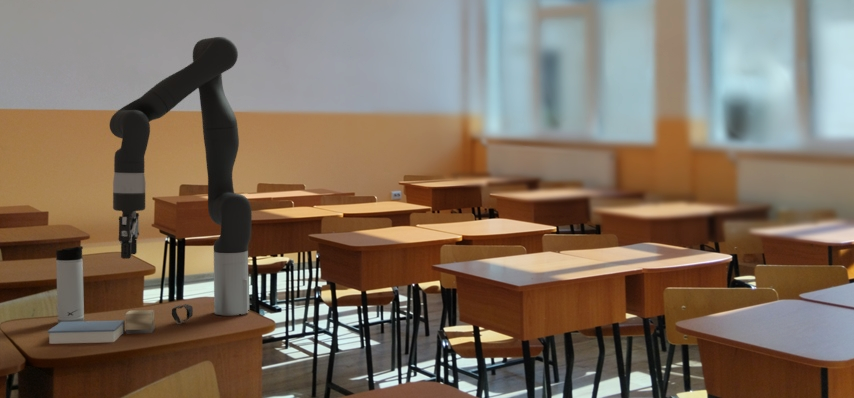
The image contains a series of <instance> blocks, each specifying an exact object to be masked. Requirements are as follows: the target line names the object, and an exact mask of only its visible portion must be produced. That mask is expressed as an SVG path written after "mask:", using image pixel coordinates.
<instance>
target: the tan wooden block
mask: <svg viewBox="0 0 854 398" xmlns="http://www.w3.org/2000/svg"><path fill="white" fill-rule="evenodd" d="M155 327H156V326H155V309H143V310H142V309H141V310H140V309H136V310H128V311H127V312H126V313H125V334H127V335H128V334H151V333H153V332H154V330H155V329H156V328H155Z"/></svg>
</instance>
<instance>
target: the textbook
mask: <svg viewBox="0 0 854 398" xmlns="http://www.w3.org/2000/svg"><path fill="white" fill-rule="evenodd" d="M46 332H47V334H48V337H49V341H48V343H49V344H52V345H53V344H54V345H55V344H56V345H58V344H84V343H85V344H94V343H95V344H96V343H99V344H100V343H114V342H115V341H116V340H118V339H119V337H121V336H122V335H123V334H126V319H124V320H120V319H119V320H87V321H85V320H84V321H74V322H60V323H57V324H56V325H55V326H53V327H51V328H50V329H48V330H47V331H46Z"/></svg>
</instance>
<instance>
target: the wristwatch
mask: <svg viewBox="0 0 854 398" xmlns="http://www.w3.org/2000/svg"><path fill="white" fill-rule="evenodd" d="M182 308H184V309H185V311H186V318H185V319H183V320H182V321H181V319H180V317H179V315H178V313H177V309H182ZM193 315H194V310H193V306H192V305H190V304H187V303H185V304H183V305H182V304H181V305H180V304H179V305H176V306H174V307H173V308H172V309H171V316H172V318H173V320H174V321H176V324H177V325H182V324H184V323H186V322H187V321H189V320H190V319H191V318H192V316H193Z"/></svg>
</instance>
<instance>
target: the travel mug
mask: <svg viewBox="0 0 854 398" xmlns="http://www.w3.org/2000/svg"><path fill="white" fill-rule="evenodd" d="M83 249H84V247H83V246H81V245H80V246H75V247H67V248H61V249H56V252H55V253H56V255H55V256H56V257H55V258H56V261H55V263H56V265H55V266H56V298H57V299H56V303H57V306H56V307H57V308H56V309H57V324H59V323H60V322H74V321H85V316H84V315H85V308H84V307H85V306H84V301H85V300H84V269H83V267H84V263H83V261H84V260H83Z"/></svg>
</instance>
